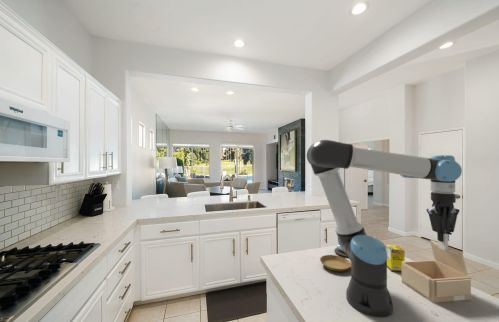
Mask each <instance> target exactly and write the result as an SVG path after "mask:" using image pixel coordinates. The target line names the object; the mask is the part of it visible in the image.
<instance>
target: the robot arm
mask: <svg viewBox="0 0 499 322" xmlns="http://www.w3.org/2000/svg"><path fill="white" fill-rule="evenodd" d="M306 160H307V163H308V164H310V166H311V169H312V172H313V174H314V176H317V177H318V179H319V181H320V183H321V187H322V188H323V191H324V193H325V196H326V199H327V202H328V205H329V207H330V209H331V212H332V216H333V218H334V220H335V221H334V222H335V223H336V229H335V232H336V236H337V241H338V242H337V243H338V244H339V245H340V247H341V249H342V250H343V251H344V252H345V254H346V255H347V256H348V257H347V258H348V259H349V261H350V263H351V267H350V276H351V277H350V280H349V283H348V286H347V287H346V293H345V296H346V300H347V302H348V304H350V306H351V307H352V308H354V309H355V310H356V311H357V312H360V313H362V314H364V315H366V316H370V317H374V318H388V317H389V316H392V315H393V313H394V303H393V300H392V297H391V294H390V292H389V289H388V267H387V251H386V244H385V243H383V241H381V240H380V239H378V238H377V237H376V238H375V237H373V236H370V235H367V233H366V230H365V226H364V225H363V224H362V223H361V222H358V220H357V217H356V214H355V211H354V209H353V207H352V204H351V201H350V199H349V195H348V193H347V191H346V189H345V186H344V183H343V180H342V178H341V175H340V173H339V170H340V169H345V170H348V169H350V168H355V169H362V170H368V171H375V172H381V173H389V174H395V175H399V176H400V177H402V178H406V179H422V180H430V191H431V192H430V200H431V201H432V204H431V208H427V209H426V212H427V214H428V217H429V221H430V225H431V230H432V231H433V232H435V233H437V234H436V235H437V239H436V240H437V241H438V242H437V243H438V248H440V249H443V250H445V251H446V250H448V247H449V242H450V240H449V237H450V235H453V233H454V232H455V228H456V224H457V219H458V215H459V214H460V209H458V208H455V205H454V204H455V203H456V202H457V201H456V200H457V199H456V197H457V195H456V194H455V193H456V180H458V179H459V178H460V177H461V176H462V174H463V173H462V171H463V170H462V167H461V165H460V164H459V162H457V161H456V158H455V156H453V155H451V154H450V155H443V154H442V155H440V154H439V155H432V156H430V157H429V158H428V157H422V156H416V155H408V154H403V153H396V152H395V153H394V152H388V151H381V150H374V149H367V148H359V147H355V145H353V144H352V143H345V142H341V141H340V142H339V141H335V140H331V139H322V140H319V141H316V142H315V143H312V144H311V145H310V147H309V148H308V149H307V151H306Z"/></svg>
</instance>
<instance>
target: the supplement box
mask: <svg viewBox="0 0 499 322" xmlns="http://www.w3.org/2000/svg"><path fill="white" fill-rule="evenodd" d="M385 246H386V251H387V269H389V271H390V272H393V273H402V265H401V262H403V261H405V249H404V248H402V247H401V246H400V245H397V244H385Z"/></svg>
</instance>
